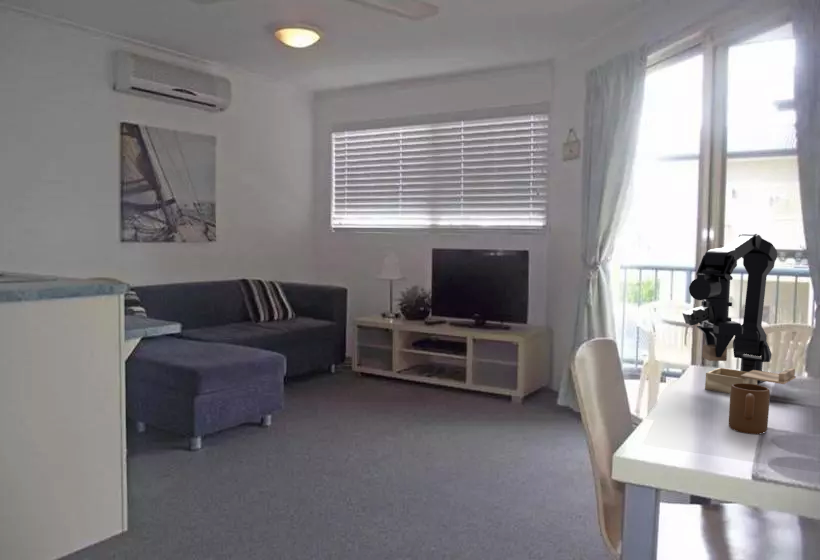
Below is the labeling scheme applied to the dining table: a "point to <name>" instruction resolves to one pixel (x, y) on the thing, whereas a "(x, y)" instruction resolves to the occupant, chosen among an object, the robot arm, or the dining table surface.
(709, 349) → the block
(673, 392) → the dining table surface
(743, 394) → the mug
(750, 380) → the wooden box
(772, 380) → the lid
